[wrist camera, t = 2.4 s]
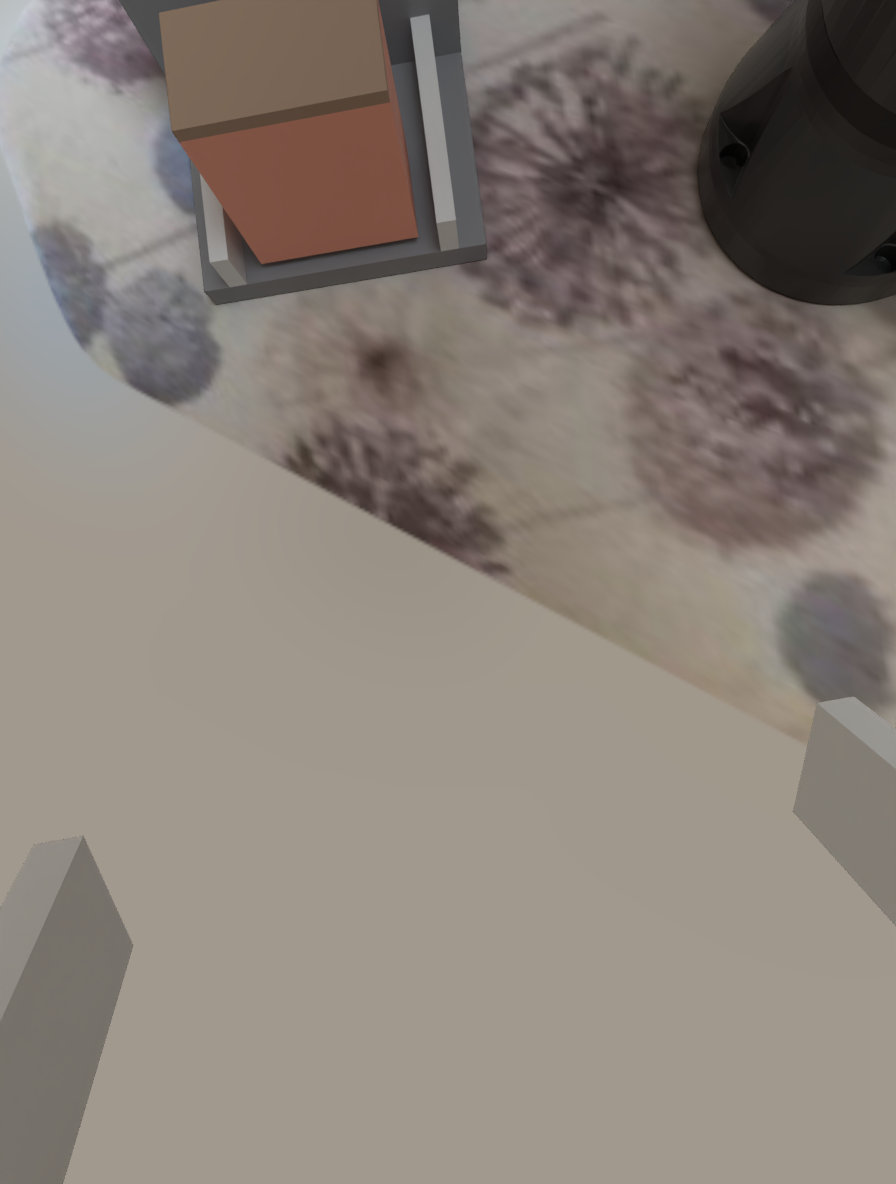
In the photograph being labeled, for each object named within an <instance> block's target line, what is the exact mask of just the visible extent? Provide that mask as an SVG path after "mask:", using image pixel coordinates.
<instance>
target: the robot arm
mask: <svg viewBox="0 0 896 1184" xmlns="http://www.w3.org/2000/svg"><path fill="white" fill-rule="evenodd" d="M698 185H699V193H700V199H701V203H702V207H703V210H704V213H705V216H706V219H707V221H708V224H709V226H710V228H711V230H712V232H713V234H714V236H715V237H716V239H717V241H718V242H719V244H720V245H721V247H722V248H723V249H724V251H725V252H726V253H727V254H728V256H729V257H730V258H731V259H732V260H733V261H734V262H735V263H736V264H737V265H738V266H739V267H740V268H741V269H742V270H744V271H745V272H746V273H747V274H748V275H750V276H751V277H753V278H754V279H755V280H757V281H758V282H760V283H762V284H763V285H765V286H767V287H769V288H771V289H773V290H775V291H777V292H779V293H782V294H784V295H787V296H790V297H793V298H797V299H800V300H804V301H809V302H815V303H822V304H854V303H862V302H868V301H872V300H877V299H881V298H884V297H887V296H890V295H893V294H895V293H896V0H794V1H793V3H792V4H791V5H790V6H789V7H788V8H787V9H786V10H785V11H784V12H783V13H782V15H781V16H780V17H779V18H778V19H777V20H776V21H775V22H774V23H773V24H772V26H771V27H770V28H769V29H768V30H767V31H766V32H765V33H764V34H763V35H762V37H761V38H760V39H759V40H758V41H757V42H756V43H755V44H754V45H753V46H752V47H751V49H750V50H749V51H748V52H747V53H746V55H745V56H744V57H743V58H742V60H741V61H740V62H739V64H738V65H737V67H736V68H735V70H734V71H733V73H732V74H731V76H730V78H729V79H728V81H727V83H726V85H725V86H724V88H723V90H722V92H721V95H720V97H719V99H718V102H717V104H716V106H715V109H714V111H713V113H712V116H711V118H710V120H709V123H708V125H707V128H706V130H705V133H704V136H703V140H702V144H701V148H700V154H699V163H698ZM793 812H794V813H795V814H796V816H797V817H798V818H799V819H800V820H801V821H802V822H803V823H804V824H805V826H806V827H807V828H808V829H809V830H810V831H811V832H812V833H813V835H814V836H815V837H816V838H817V839H818V840H819V841H820V842H821V843H822V845H823V846H824V847H825V848H826V849H827V850H828V851H829V852H830V853H831V855H832V856H833V857H834V858H835V859H836V860H837V861H838V862H839V863H840V864H841V866H842V867H843V868H844V869H845V870H846V871H847V872H848V874H849V875H850V876H851V877H852V878H853V879H854V880H855V881H856V882H857V883H858V884H859V886H860V887H861V888H862V889H863V890H864V891H865V892H866V894H867V895H868V896H869V897H870V898H871V899H872V900H873V901H874V902H875V904H876V905H877V906H878V907H879V908H880V909H881V910H882V911H883V912H884V914H885V915H886V916H887V917H888V918H889V919H890V920H891V921H892V922H893V924H894V925H895V926H896V728H894V727H893V726H892V725H890V724H889V723H888V722H887V721H885V720H884V719H883V718H881V717H880V716H879V715H877V714H876V713H875V712H873V711H872V710H871V709H870V708H868V707H867V706H866V705H864V704H863V703H862V702H860V701H859V700H858V699H857V698H855V697H854V696H853V697H848V698H842V699H837V700H831V701H826V702H820V703H817V705H816V710H815V714H814V719H813V723H812V728H811V732H810V737H809V741H808V746H807V750H806V755H805V760H804V764H803V769H802V773H801V778H800V782H799V787H798V791H797V796H796V801H795V805H794V809H793ZM132 948H133V944H132V941H131V939H130V937H129V935H128V933H127V931H126V928H125V926H124V924H123V922H122V919H121V917H120V915H119V913H118V911H117V908H116V906H115V904H114V902H113V900H112V897H111V895H110V893H109V891H108V889H107V886H106V884H105V882H104V880H103V878H102V876H101V873H100V871H99V869H98V867H97V865H96V862H95V860H94V858H93V856H92V854H91V852H90V849H89V847H88V845H87V843H86V841H85V838H84V836H79V837H74V838H68V839H63V840H57V841H51V842H46V843H40V844H34V845H33V847H32V848H31V851H30V852H29V854H28V856H27V858H26V860H25V862H24V863H23V866H22V867H21V869H20V871H19V873H18V875H17V877H16V879H15V880H14V882H13V885H12V886H11V888H10V890H9V892H8V894H7V896H6V897H5V899H4V901H3V903H2V905H1V907H0V1184H63V1182H64V1179H65V1175H66V1172H67V1168H68V1165H69V1162H70V1158H71V1155H72V1151H73V1148H74V1145H75V1141H76V1138H77V1135H78V1131H79V1128H80V1124H81V1121H82V1117H83V1114H84V1111H85V1107H86V1104H87V1100H88V1097H89V1094H90V1091H91V1087H92V1084H93V1080H94V1077H95V1074H96V1070H97V1067H98V1063H99V1060H100V1056H101V1053H102V1050H103V1046H104V1043H105V1039H106V1036H107V1033H108V1029H109V1026H110V1023H111V1019H112V1016H113V1012H114V1009H115V1006H116V1002H117V999H118V995H119V992H120V989H121V985H122V982H123V978H124V975H125V972H126V968H127V965H128V962H129V958H130V955H131V951H132Z"/></svg>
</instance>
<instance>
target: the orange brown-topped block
mask: <svg viewBox="0 0 896 1184" xmlns="http://www.w3.org/2000/svg"><path fill="white" fill-rule="evenodd" d="M159 19H160V28H161V38H162V47H163V56H164V65H165V74H166V84H167V93H168V102H169V111H170V120H171V130H172V132H173V134H174V135H175V137H176V138H177V140H178V141H179V143H180V144H181V146H182V147H183V149H184V150H185V152H186V153H187V155H188V156H189V158H190V159H191V161H192V162H193V163H194V165H195V166H196V168H197V169H198V171H199V172H200V174H201V175H202V177H203V178H204V180H205V181H206V183H207V184H208V186H209V187H210V189H211V190H212V192H213V193H214V195H215V196H216V198H217V199H218V201H219V202H220V204H221V205H222V207H223V208H224V209H225V211H226V212H227V214H228V215H229V217H230V218H231V220H232V221H233V223H234V224H235V226H236V227H237V229H238V230H239V232H240V233H241V235H242V236H243V238H244V239H245V241H246V242H247V244H248V245H249V247H250V248H251V250H252V251H253V252H254V254H255V255H256V257H257V258H258V260H259V261H260V263H261V264H265V263H271V262H277V261H283V260H288V259H294V258H300V257H306V256H312V255H317V254H323V253H329V252H335V251H341V250H346V249H352V248H358V247H364V246H370V245H375V244H381V243H387V242H393V241H399V240H404V239H410V238H416V237H418V229H417V222H416V214H415V206H414V198H413V190H412V182H411V174H410V167H409V159H408V151H407V145H406V140H405V135H404V130H403V124H402V119H401V114H400V109H399V104H398V99H397V94H396V89H395V84H394V78H393V73H392V68H391V63H390V58H389V53H388V48H387V43H386V37H385V32H384V27H383V22H382V17H381V12H380V7H379V2H378V0H219V1H214V2H209V3H204V4H199V5H194V6H189V7H185V8H180V9H175V10H170V11H165V12H160V13H159Z"/></svg>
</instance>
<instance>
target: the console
mask: <svg viewBox="0 0 896 1184" xmlns="http://www.w3.org/2000/svg"><path fill="white" fill-rule="evenodd" d="M119 1H120V3H121V4H122V6H123V8H124V9H125V11H126V12H127V14H128V16H129V17H130V19H131V21H132V22H133V24H134V25H135V27H136V29H137V30H138V32H139V34H140V35H141V37H142V38H143V40H144V42H145V43H146V45H147V47H148V48H149V50H150V51H151V53H152V55H153V56H154V58H155V60H156V61H157V63H158V64H159V66H160V68H161V69H162V71H163V73H164V74H165V65H164V56H163V47H162V38H161V28H160V19H159V13H160V12H165V11H170V10H175V9H180V8H185V7H189V6H194V5H199V4H204V3H209V2H214V1H219V0H119ZM378 2H379V7H380V12H381V17H382V22H383V27H384V32H385V37H386V43H387V48H388V53H389V58H390V63H391V68H392V73H393V78H394V84H395V89H396V94H397V99H398V104H399V109H400V114H401V119H402V124H403V130H404V135H405V140H406V145H407V151H408V159H409V167H410V174H411V182H412V190H413V198H414V206H415V214H416V222H417V229H418V237H416V238H410V239H404V240H399V241H393V242H387V243H381V244H375V245H370V246H364V247H358V248H352V249H346V250H341V251H335V252H329V253H323V254H317V255H312V256H306V257H300V258H294V259H288V260H283V261H277V262H271V263H265V264H261V263H260V261H259V260H258V258H257V257H256V255H255V254H254V252H253V251H252V250H251V248H250V247H249V245H248V244H247V242H246V241H245V239H244V238H243V236H242V235H241V233H240V232H239V230H238V229H237V227H236V226H235V224H234V223H233V221H232V220H231V218H230V217H229V215H228V214H227V212H226V211H225V209H224V208H223V207H222V205H221V204H220V202H219V201H218V199H217V198H216V196H215V195H214V193H213V192H212V190H211V189H210V187H209V186H208V184H207V183H206V181H205V180H204V178H203V177H202V175H201V174H200V172H199V171H198V169H197V168H196V166H195V165H194V163H193V162H192V161H191V159H190V166H191V175H192V184H193V194H194V203H195V212H196V221H197V230H198V239H199V248H200V257H201V266H202V275H203V284H204V292H205V293H206V294H207V295H208V296H209V297H210V299H211V300H212V301H213V302H214V303H215V304H216V305H218V304H224V303H230V302H236V301H242V300H248V299H254V298H260V297H265V296H271V295H277V294H283V293H289V292H295V291H301V290H307V289H313V288H319V287H325V286H331V285H337V284H343V283H349V282H355V281H360V280H366V279H372V278H378V277H384V276H390V275H396V274H402V273H408V272H414V271H420V270H426V269H432V268H438V267H444V266H450V265H456V264H461V263H467V262H473V261H479V260H485V259H487V249H486V238H485V230H484V222H483V215H482V207H481V200H480V192H479V185H478V177H477V170H476V162H475V154H474V147H473V139H472V132H471V124H470V117H469V109H468V102H467V94H466V86H465V79H464V71H463V64H462V56H461V45H460V30H459V15H458V0H378ZM165 76H166V74H165Z"/></svg>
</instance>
